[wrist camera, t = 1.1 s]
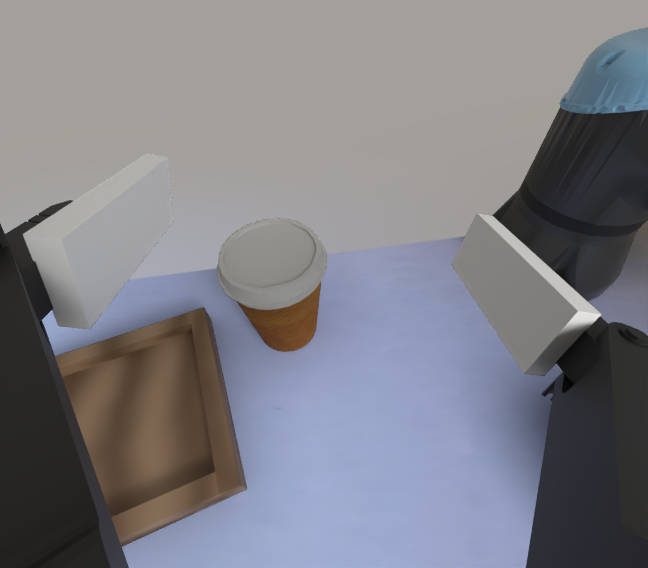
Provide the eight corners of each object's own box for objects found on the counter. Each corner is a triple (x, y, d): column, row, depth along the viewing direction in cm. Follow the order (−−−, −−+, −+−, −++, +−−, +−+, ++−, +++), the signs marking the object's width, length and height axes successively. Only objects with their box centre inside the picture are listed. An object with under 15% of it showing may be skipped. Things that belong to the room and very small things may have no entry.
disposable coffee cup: (232, 356, 34) (191, 286, 25) (263, 287, 40) (239, 209, 31) (319, 374, 32) (309, 306, 23) (338, 300, 38) (337, 221, 29)
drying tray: (211, 319, 37) (203, 307, 35) (247, 489, 26) (239, 484, 25) (39, 378, 34) (20, 368, 32) (0, 602, 23) (-32, 607, 21)
